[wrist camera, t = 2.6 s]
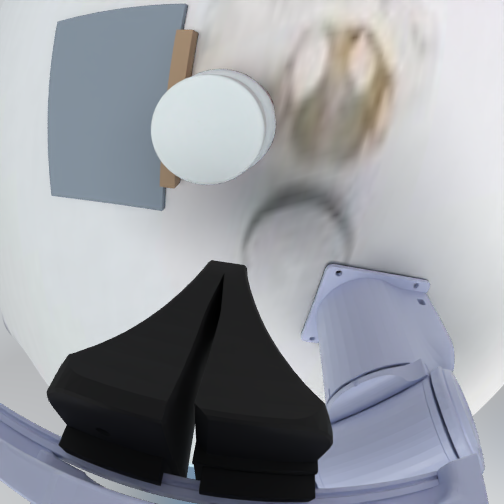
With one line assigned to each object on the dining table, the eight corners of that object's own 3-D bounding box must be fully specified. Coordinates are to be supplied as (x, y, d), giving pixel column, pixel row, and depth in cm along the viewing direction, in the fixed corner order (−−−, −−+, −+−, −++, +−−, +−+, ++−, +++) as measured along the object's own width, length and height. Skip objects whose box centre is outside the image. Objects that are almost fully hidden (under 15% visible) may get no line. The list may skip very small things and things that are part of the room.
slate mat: (203, 5, 13) (199, 0, 12) (178, 209, 20) (172, 217, 19) (61, 22, 12) (51, 20, 11) (55, 193, 20) (46, 199, 19)
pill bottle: (189, 86, 16) (127, 85, 8) (267, 70, 15) (262, 49, 8) (205, 156, 18) (158, 206, 11) (280, 144, 17) (286, 185, 10)
